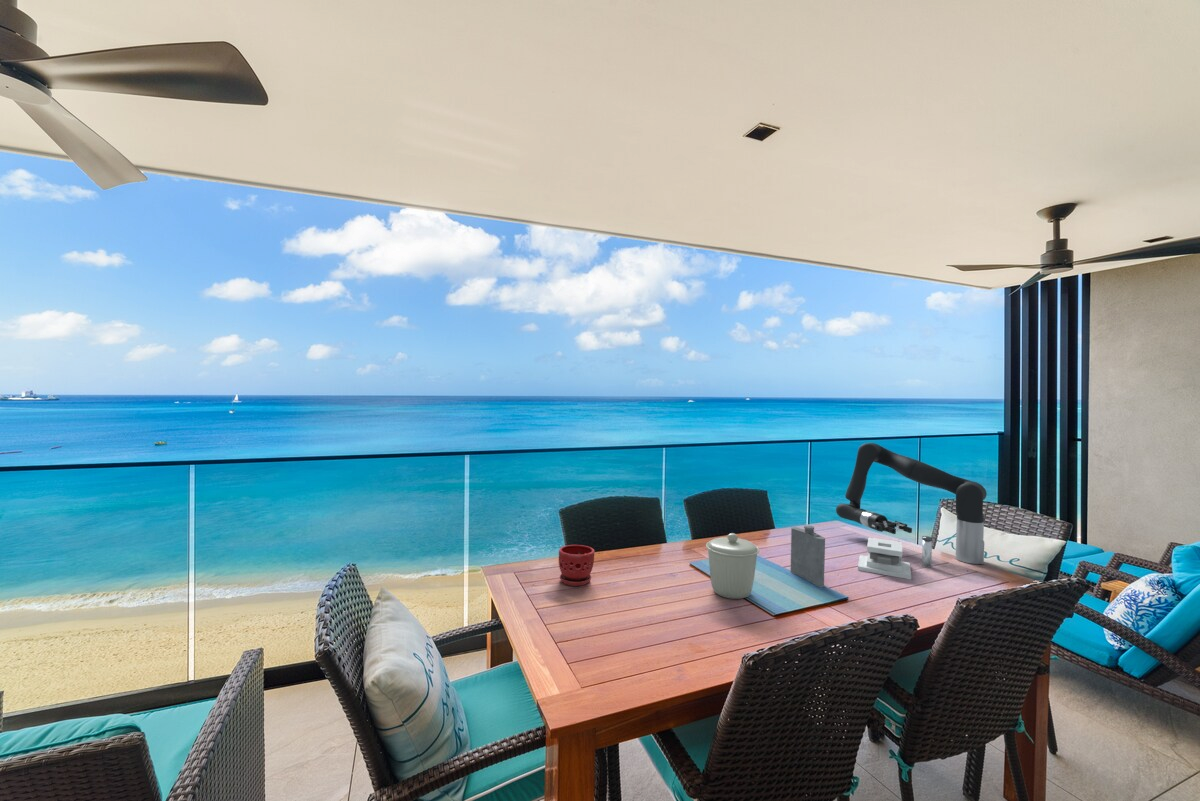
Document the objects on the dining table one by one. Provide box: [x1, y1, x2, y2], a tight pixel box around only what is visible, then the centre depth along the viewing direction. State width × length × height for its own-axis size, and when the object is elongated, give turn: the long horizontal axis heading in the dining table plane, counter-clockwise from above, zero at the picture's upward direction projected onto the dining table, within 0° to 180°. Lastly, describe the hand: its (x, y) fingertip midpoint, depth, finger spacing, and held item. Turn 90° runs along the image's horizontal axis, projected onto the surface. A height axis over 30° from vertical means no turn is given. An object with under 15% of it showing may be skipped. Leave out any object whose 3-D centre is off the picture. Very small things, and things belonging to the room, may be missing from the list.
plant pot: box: [558, 544, 595, 587], centre depth 182 cm, size 13×13×12 cm
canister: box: [705, 532, 760, 600], centre depth 172 cm, size 18×18×21 cm
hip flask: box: [789, 524, 826, 588], centre depth 187 cm, size 16×4×20 cm, turn 20°
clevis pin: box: [921, 535, 934, 569], centre depth 201 cm, size 4×4×12 cm
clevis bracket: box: [857, 537, 912, 580], centre depth 198 cm, size 18×17×10 cm
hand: (903, 531), depth 212 cm, fingers open, 8 cm apart
